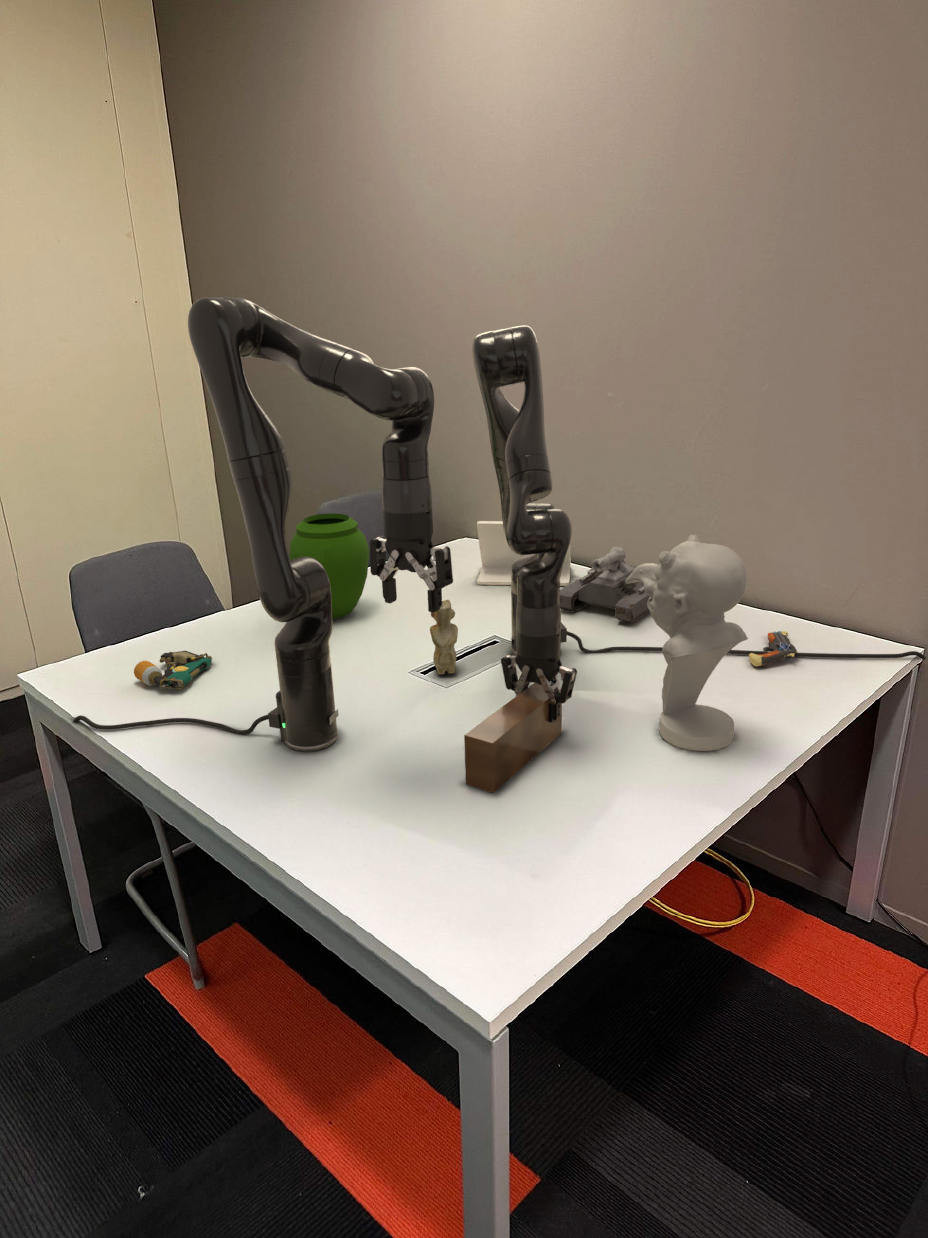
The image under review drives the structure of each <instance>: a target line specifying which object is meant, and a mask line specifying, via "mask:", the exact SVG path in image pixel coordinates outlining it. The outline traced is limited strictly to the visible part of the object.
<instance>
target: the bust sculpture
mask: <svg viewBox="0 0 928 1238" xmlns="http://www.w3.org/2000/svg"><path fill="white" fill-rule="evenodd" d="M658 561H659V564H657V563H653V562H650V563H647V562H646V563H642V564H640V565H637V566H636V568H635V569H634V570H633V572H632V573H631V574H630V575H629V576H628V577H627V579H626V580H625V583H626V584H630V583H635V582H642V583H644V589H645V592H646V594H647V595H648V596H649V599H648V601H647V606H648V609H649V611H650V612H649V613H650V615H651V617H652V619H653V621H654V623H655V624H656V626H658V627H659V628H660V629H661V630H662V631H663V632H664V633H665V634H666V635H668V636H669V639H668V640H666V642H664V644H663V646H662V647H663V649H662V651H661V652H662V655H663V658H664V660H665V663H666V664H667V666H666V668H665V672H664V674H663V678H662V688H661V700H662V705H661V706H662V709H661V710H662V712H661V713H660V714H659V715H660V716H659V726H658V727H659V728H658V733H659V735H660V737H661V738H662V739H663V740H664V741H666V742H667V743H669V744H670V745H673V746H675V747H677V748H681V749H683V750H684V749H685V750H690V751H697V752H711V751H716V750H721V749H723V748H725V747H726V748H727V746H729V745H730V744H731V743H732V742H733V740H734V734H735V720H734V719H733V717H732V716H730V715H729V714H728V713H726V712H725V711H724V710H721V709H719V708H716V707H713V706H709V705H705V704H698V703H697V701H698V700H699V697H700V695H701V693H702V691H703V688H705V686H706V683H707V682H708V680H709V678H710V676H711V675H712V673H713V672H714V670H715V669H716V667H717V666H718V665H719V664H720V662H721V661H722V659H723V658H725V656H726V655H727V653H728V652H729V651H730V650H733V649H734V648H735V647H736V646H737V645H739V644H740V643H742V642H744V641H747V640H749V637H748V636H747V634H746V632H745V631H744V630H743V628H742V627H741V626H740V625H739V624H737V623H735V622H731V621H726V620H725V618H726V616H725V613H727V612H729V611H731V610H733V608H735V607H736V606H737V605H738V604H739V603H740V602H741V600H742V599H743V596H744V594H745V591H746V587H747V569H746V566H745V564H744V562H743V560H742V558H741V556H739V554H737V552H735V550H733V549H732V548H730V547H728V546H726V545H722V544H717V543H707V542H706V543H705V542H701V540H700V537H699V536H698V535H696V534H690V535H689V536H688V538H687V540H686V541H682V542H681V543H679V544H678V545H675V547H673V548H672V549H671V550H670V551H667V550H664V551H661V552H660V554H659V555H658Z"/></svg>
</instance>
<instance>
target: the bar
mask: <svg viewBox="0 0 928 1238" xmlns="http://www.w3.org/2000/svg"><path fill="white" fill-rule="evenodd" d="M561 687H562V686H559V688H560V691H561ZM549 703H550V701H549V698H548V695H547V693H545V692H544V689H543V687H542V685H539V684H538V683H536V682H533V683H531V685H529V686H528V688H527V689H525V690H524V691H523V692H521V693H520V694H519V695H517V696H516V695H515V697H513V698H511V699H510V700H508V702H506V703H505V704H503V706H501V707H499V708H498V709H497V710H496V711H494V712H493V713H492V714H491V715H489V716H487V717H486V718H485V719H484V720H482V721H481V722H480V723H478V724H477V725H476V726H474V727H473V728H471V730H469V731H468V732H466V733H465V734H464V735H463V738H464V739H463V740H464V741H463V743H464V766H465V767H464V770H465V771H464V774H465V775H464V776H465V785H468V786H470V787H474V788H477V789H480V790H483V791H486V792H488V793H491V794H495V793H496V792H497V791H498V790H499V789H500V788H502V787H503V786H504V785H505V784H506V783H507V782H508V781H509V780H511V779H512V778H513V777H514V776H516V774H517V773H518V772H520V771H521V770H522V769H523V768H524V767H525V766H527V764H529V763H530V762H531V761H532V760H533V759H534V758H535V757H536V756H538V754H540V753H541V752H542V751H543V750H545V748H546V747H548V746H549V745H550V744H551V743H552V742H554V740H555V739H556V738H558V737H559V736H560V735H562V733H563V731H562V730H563V704H562V703H561V714H560V717H559V718H558V719H557V720H556V721H555V722H554V723H551V722H549Z"/></svg>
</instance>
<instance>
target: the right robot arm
mask: <svg viewBox="0 0 928 1238" xmlns="http://www.w3.org/2000/svg"><path fill="white" fill-rule="evenodd" d="M536 336H537V335H536V333H535V331H534V329H532V327H530V326H529V325H518V326H517V325H516V326H512V327H507V328H501V329H496V330H490V331H486V332H482V333H479V334H477V335H476V336H475V337H474V339H473V342H472V359H473V365H474V370H475V375H476V378H477V382H478V386H479V390H480V395H481V399H482V403H483V407H484V411H485V417H486V422H487V428H488V430H487V431H488V434H489V435H488V436H489V444H490V451H491V454H492V455H491V456H492V461H493V466H494V470H495V474H496V480H497V484H498V490H499V498H500V508H501V521H503V530H504V535H505V538H506V541H507V544H508V546H509V548H510V549H511V550H512V551H513V552H514V553H515V554H517V555H531V554H535V555H533V556H530V557H527V558H524V559H521V560H518V561H516V562H515V563H513V565H512V567H511V585H510V588H511V589H510V597H511V599H510V603H511V604H510V606H511V607H510V609H511V610H510V615H511V617H510V618H511V621H510V622H511V640H510V645H511V646H510V651H511V652H510V653H508V654H507V655H505V656H503V657H502V658H500V663H501V669H502V674H503V679H504V684H505V688H506V690H508V691H510V690H511V691H512V692H514V694H515V697H516V696H517V695H519V694H520V693H521V692H523V691H524V690H525V689H527V688H528V687H529V686H530V684H533V683H535V682H536V683H538V684H539V685H542V687H543V689H544V692H545V693H547V695H548V698H549V701H550V703H549V722H551V723H554V722H555V721H556V720H557V719H558V718H559V717H560V714H561V703H562V705H563V704H565V703H566V702H567V701H569V700H570V699H571V698H572V697H573V692H574V688H575V684H576V679H577V675H578V670H577V669H576V668H575V667H572V668H568V667H566V666H564V665H563V664H562V661H561V658H560V657H561V649H562V648H561V646H562V645H561V643H567V640H568V639H567V638H568V637H570V638H572V639H574V640H575V641H576V642H577V645H578V648H579V650H580V651H581V652H582V653H584V654H603V653H608V652H609V653H610V652H615V651H616V652H617V651H618V652H620V651H623V652H624V651H627V652H629V651H634V652H662V649H663V646H609V647H605V648H600V649H595V650H592V649H589V648H588V649H587V648H585V647H584V644H583V641H582V639H581V638H580V637H579V636H578V634H576V633H573V632H571V631H569V630H568V628H567V627H566V625H564V624H563V622H562V612H561V609H560V589H561V586H560V576H561V572H562V568H563V563H564V560H565V557H566V554H567V551H568V547H569V544H570V545H571V539H572V533H573V528H572V522H571V519H570V517H569V516H568V514H567V513H566V512H565V511H564V510H562V509H560V508H555V506H554V504H552V503H549V502H536V501H540V500H543V499H545V498H546V497H548V496H549V495H550V494H551V493H552V491H553V479H552V473H551V468H550V461H549V455H548V451H547V450H548V449H547V442H546V431H545V407H544V406H545V405H544V390H543V375H542V365H541V364H542V363H541V356H540V348H539V343H538V339H537V337H536ZM518 384H524V389H523V390H524V391H523V392H524V393H523V399H522V403H521V406H520V408H519V409H518V408H517V407H516V406H515V405H513V403H511V402H510V400H508V399H507V397H506V396H505V394H504V393H503V391H502V389H501V388H503V387H508V386H513V385H518ZM767 652H769V651H767ZM750 653H754V654H756V655H758V654H763V650H742V649H731V650H730V651H729V652H728V653H727V654H728V655H742V656H743V655H746V656H749V654H750ZM727 654H726V655H727ZM910 656H915V657H916V656H917V657H918V658H920V659H922V660H926V659H927V657H926V656H925V655H924V654H923V653H921V652H920V651H916V650H912V651H911V650H910V651H905V652H900V653H827V652H826V653H825V652H822V653H821V652H798V653H795V655H794V657H792V656H790V657H792V658H823V659H824V658H827V659H830V658H831V659H833V658H834V659H902V658H906V657H910ZM517 667H518V669H519V671H520V674H519V677H518V671H517ZM558 674H560V680H561V681H562V682H561V683H562V684H561V686H560V681H559V678H558ZM559 687H561V691H560V688H559Z"/></svg>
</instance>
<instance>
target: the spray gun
mask: <svg viewBox="0 0 928 1238" xmlns="http://www.w3.org/2000/svg"><path fill="white" fill-rule="evenodd" d="M212 660H213V657H212V656H211V655H208V653H207V652H205V653H201V654H197V653H194V652H192V651H191V652H190V651H188V650H180V651H169V652H164V653H162V654H161V655H160V658H159V660H158V662H159V663H161V664H163V663H165V664H166V668H165V670H163V672H164V674H163V673H162V669H160V668H159V666H157V665H156V664H154V663H152V662H151V661H149V660H141V661H139V662H138V663H136V665H135V666H134V668H133V675H134V677H135V678H136V679H137V680H139V681H140V682H142V683H143V684H145V685H147V686H155V685H157V686H158V687H160V688H161V689H171V690H172V689H173V690H182V689H184V687H185V686H186V685H188V684H189V683H190V682H191V681H192V679H193V678H195V677H196V676H197V675H198V674H200V673H201V672H202V671H203V670H206V669H208V668H209V667H210V666H211V665H212V662H213V661H212ZM178 663H179V664H181V665H179V666H176V665H177V664H178Z"/></svg>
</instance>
